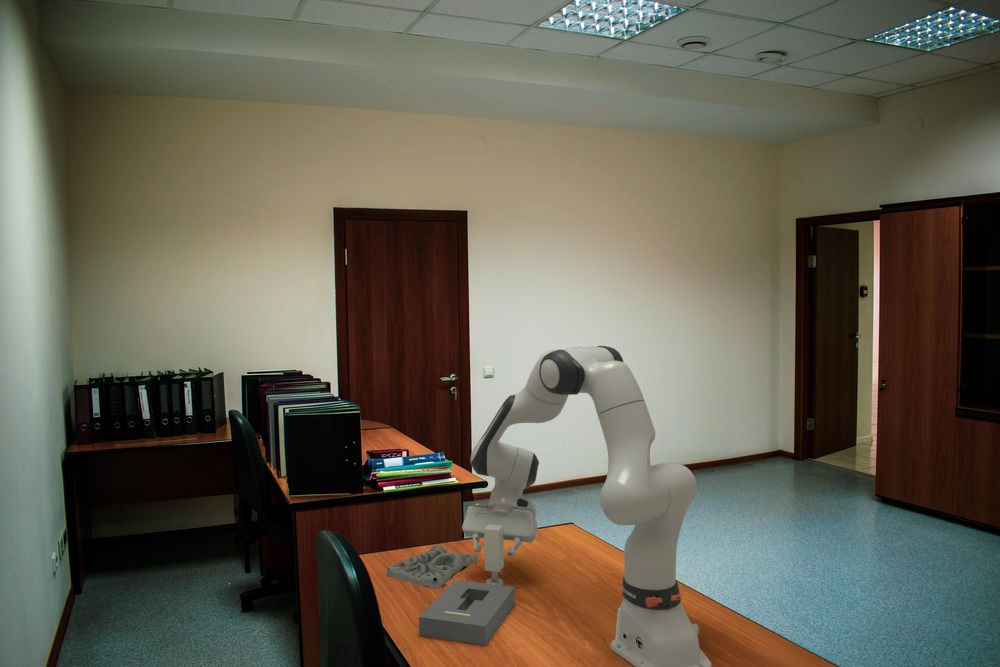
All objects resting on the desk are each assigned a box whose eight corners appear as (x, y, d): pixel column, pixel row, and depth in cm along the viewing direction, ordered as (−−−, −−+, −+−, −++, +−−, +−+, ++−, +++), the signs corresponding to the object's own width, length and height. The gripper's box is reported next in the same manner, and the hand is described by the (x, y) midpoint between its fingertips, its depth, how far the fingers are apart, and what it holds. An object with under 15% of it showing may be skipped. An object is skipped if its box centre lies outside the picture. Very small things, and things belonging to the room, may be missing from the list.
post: (489, 583, 190) (488, 523, 190) (505, 585, 189) (504, 525, 188) (484, 590, 186) (483, 529, 185) (500, 592, 185) (499, 530, 184)
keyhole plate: (455, 596, 183) (454, 578, 182) (514, 604, 178) (514, 586, 177) (419, 635, 162) (418, 616, 161) (485, 645, 157) (485, 625, 156)
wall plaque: (437, 591, 187) (437, 577, 187) (382, 577, 197) (382, 563, 197) (486, 562, 207) (486, 549, 207) (434, 551, 217) (433, 538, 217)
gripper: (466, 497, 196) (453, 543, 188) (537, 502, 190) (528, 551, 181) (472, 508, 201) (460, 554, 192) (542, 514, 194) (533, 562, 186)
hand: (493, 553), depth 187 cm, fingers open, 8 cm apart
